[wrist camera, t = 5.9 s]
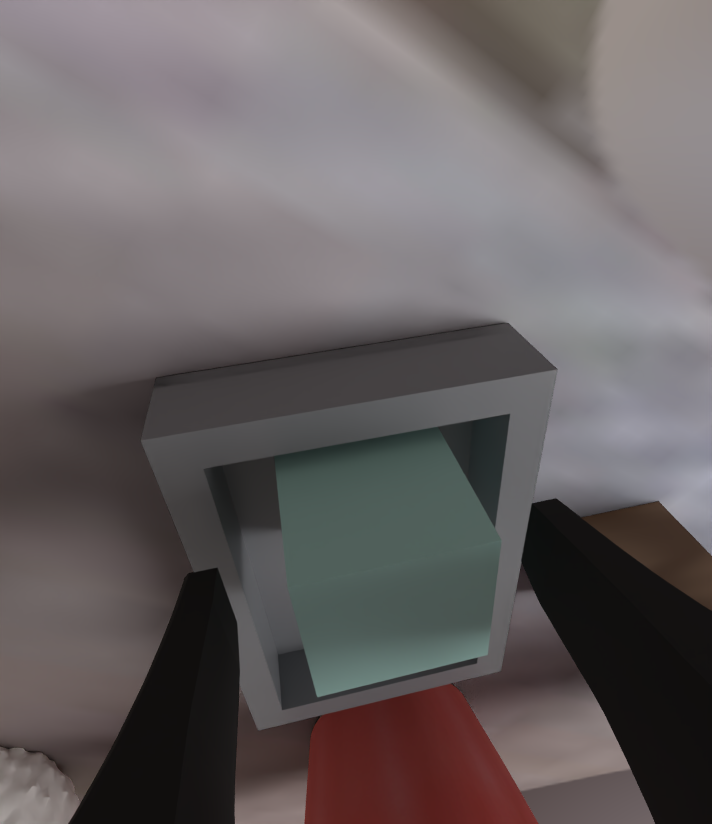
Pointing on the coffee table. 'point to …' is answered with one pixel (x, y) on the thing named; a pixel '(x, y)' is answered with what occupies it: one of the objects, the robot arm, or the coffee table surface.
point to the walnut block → (660, 547)
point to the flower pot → (409, 765)
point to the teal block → (385, 558)
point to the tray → (331, 425)
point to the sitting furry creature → (34, 789)
